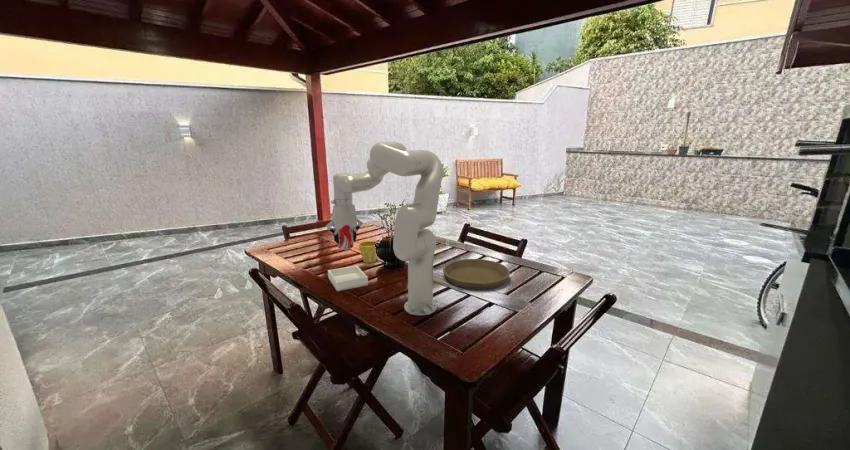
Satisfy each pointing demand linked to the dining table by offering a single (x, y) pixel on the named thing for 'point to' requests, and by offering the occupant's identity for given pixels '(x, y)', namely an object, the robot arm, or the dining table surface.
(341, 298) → the dining table surface
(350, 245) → the soda can
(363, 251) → the plant pot
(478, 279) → the plant saucer
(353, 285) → the tray
